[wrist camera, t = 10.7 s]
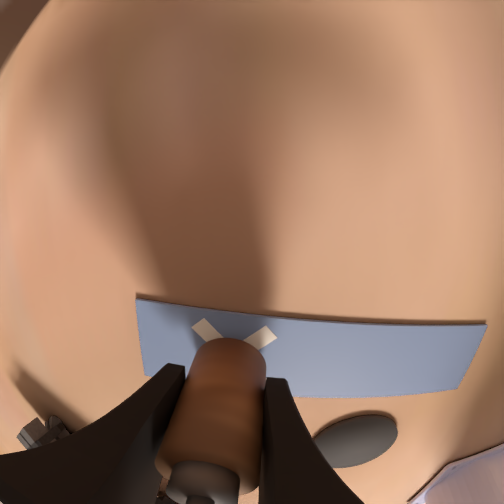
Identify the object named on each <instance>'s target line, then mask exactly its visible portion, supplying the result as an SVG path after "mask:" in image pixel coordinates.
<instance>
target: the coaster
mask: <svg viewBox="0 0 504 504" xmlns="http://www.w3.org/2000/svg"><path fill="white" fill-rule="evenodd" d="M397 434H398V431H397V428H396V425H395V423H394V421H392V420H391V419H390V418H388V417H385V416H380V415H364V416H358V417H353V418H350V419H346V420H343V421H341V422H338V423H336V424H334V425H332V426H330V427H328V428H326V429H325V430H323V431H322V432H321V433H319V434H318V435H317V436H316V437H315V439H314V442H315V443H316V445H317V447H318V448H319V450H320V451H321V453H322V454H323V456H324V457H325V459H326V460H327V462H328V463H329V464H330V466H331V467H332V468H346V467H352V466H357V465H360V464H363V463H366V462H369V461H371V460H373V459H375V458H377V457H378V456H380V455H382V454H383V453H384V452H386V451H387V450H388V449H389V448H390V447H391V446H392V445H393V443H394V442H395V440H396V438H397Z"/></svg>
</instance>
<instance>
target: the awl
mask: <svg viewBox="0 0 504 504" xmlns="http://www.w3.org/2000/svg"><path fill="white" fill-rule="evenodd" d="M265 383H266V362H265V359H264V357H263V356H262V354H261V353H260V352H259V351H258V350H257V349H256V348H255V347H254V346H252V345H251V344H249V343H247V342H245V341H242V340H239V339H234V338H217V339H213V340H210V341H208V342H206V343H204V344H203V345H202V346H201V347H200V348H199V349H198V350H197V352H196V354H195V357H194V359H193V362H192V365H191V367H190V370H189V372H188V375H187V377H186V380H185V383H184V385H183V388H182V390H181V393H180V395H179V398H178V401H177V403H176V406H175V408H174V411H173V414H172V416H171V419H170V422H169V424H168V427H167V430H166V432H165V435H164V437H163V440H162V443H161V445H160V448H159V451H158V453H157V456H156V459H155V467H156V468H157V470H158V472H159V473H160V474H161V475H162V476H163V477H164V478H166V479H167V480H168V485H167V488H166V494H167V495H168V497H170V498H171V499H172V500H174V501H175V502H177V503H179V504H238V497H239V495H244V494H247V493H250V492H252V491H253V490H255V489H256V488H257V487H258V486H259V483H260V471H261V456H262V441H263V406H264V389H265Z"/></svg>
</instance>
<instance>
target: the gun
mask: <svg viewBox="0 0 504 504" xmlns="http://www.w3.org/2000/svg"><path fill="white" fill-rule="evenodd" d="M65 428H66V427H65V426H64V425H63V424H62V421H61V420H60V419H59V418H57V417H55V416H51V417H50V418H49V421H48V420H47V421H46V422H45V426H44V425H43V424H42V423H41V421H40V420H39V419H38V418H35V419H34V420H33V421H31V422H30V423H29V424H27V425H26V426H25V427H23V428H22V430H21V431H20V433H19V434H18V435H17V438H18V439H19V441H20V442H21V443H22V444H23V446H24V447H25V448H26V449H27V450H29V449H33V448H36V447H39V446H42V445H45V444H48V443H51V442H54V441H57V440H59V439H62V438H64V437H66V436H68V435H70V434H69V432H68V431H67V430H66V429H65ZM155 504H176V503H174V502H173V501H171V500H170V499H169V498H167V497H166V496H163V497H157V498H156V502H155Z"/></svg>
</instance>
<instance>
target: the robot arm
mask: <svg viewBox="0 0 504 504" xmlns="http://www.w3.org/2000/svg"><path fill="white" fill-rule="evenodd" d="M185 380H186V374H185V366H183V365H178V364H172V363H167V364H166V365H164V366H163V367H162V368H161V369H160V370H159V371H158V372H157V373H156V374H155V375H154V376H153V377H152V378H151V379H150V380H148V381H147V382H146V383H145V384H144V385H143V386H142V387H141V388H139V389H138V390H137V391H136V392H135V393H133V394H132V395H131V396H130V397H129V398H127V399H126V400H125V401H124V402H122V403H121V404H120V405H118V406H117V407H116V408H114V409H113V410H111V411H110V412H109V413H107V414H106V415H104V416H103V417H101V418H100V419H98V420H96V421H95V422H93V423H91V424H90V425H88V426H86V427H84V428H83V429H81V430H79V431H77V432H74V433H72V434H70V435H68V436H66V437H64V438H62V439H59V440H57V441H54V442H51V443H48V444H45V445H42V446H39V447H36V448H33V449H29V450H25V451H20V452H15V453H9V454H3V455H0V501H1V502H2V503H3V504H155V502H156V498H157V494H158V490H159V486H160V483H161V480H162V477H163V476H162V475H161V474H160V473H159V472H158V470H157V468H156V467H155V459H156V456H157V453H158V451H159V448H160V445H161V443H162V440H163V437H164V435H165V432H166V430H167V427H168V424H169V422H170V419H171V416H172V414H173V411H174V408H175V406H176V403H177V401H178V398H179V395H180V393H181V390H182V388H183V385H184V383H185ZM424 503H425V504H504V444H501V445H499V446H497V447H494V448H492V449H489V450H487V451H484V452H482V453H479V454H476V455H474V456H471V457H468V458H465V459H462V460H459V461H456V462H452V463H450V464H448V465H447V466H445V467H444V468H443V470H442V471H441V472H440V473H439V474H438V475H437V476H436V477H435V478H434V479H433V480H432V481H431V482H430V483H429V484H428V485H427V486H426V487H425V488H424V489H423V490H422V491H421V492H419V493H418V494H417V495H416V496H415V497H414V498H413V499H412V500H411V501H410V502H408V503H407V504H424ZM258 504H365V503H363V502H362V501H361V500H360V499H359V498H358V497H357V495H356V494H355V493H354V492H353V491H352V490H351V489H350V488H349V487H348V486H347V485H346V484H345V483H344V482H343V481H342V479H341V478H340V477H339V476H338V475H337V473H336V472H335V471H334V470H333V468H332V467H331V466H330V464H329V463H328V462H327V460H326V459H325V457H324V456H323V454H322V453H321V451H320V450H319V448H318V447H317V445H316V443H315V442H314V440H313V438H312V437H311V435H310V433H309V431H308V429H307V428H306V426H305V424H304V422H303V420H302V418H301V416H300V413H299V411H298V409H297V407H296V404H295V402H294V399H293V397H292V394H291V391H290V388H289V385H288V381H287V380H286V379H285V378H274V377H266V383H265V389H264V406H263V441H262V456H261V471H260V483H259V502H258Z"/></svg>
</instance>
